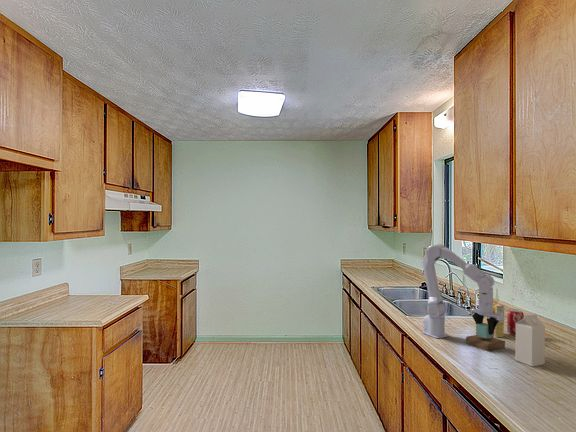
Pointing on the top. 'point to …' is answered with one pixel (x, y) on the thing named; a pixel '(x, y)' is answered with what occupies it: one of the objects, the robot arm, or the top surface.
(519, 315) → the soda can
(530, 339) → the milk carton
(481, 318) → the robot arm
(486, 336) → the teal cube
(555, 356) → the top surface
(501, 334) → the candy box
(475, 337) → the walnut block
